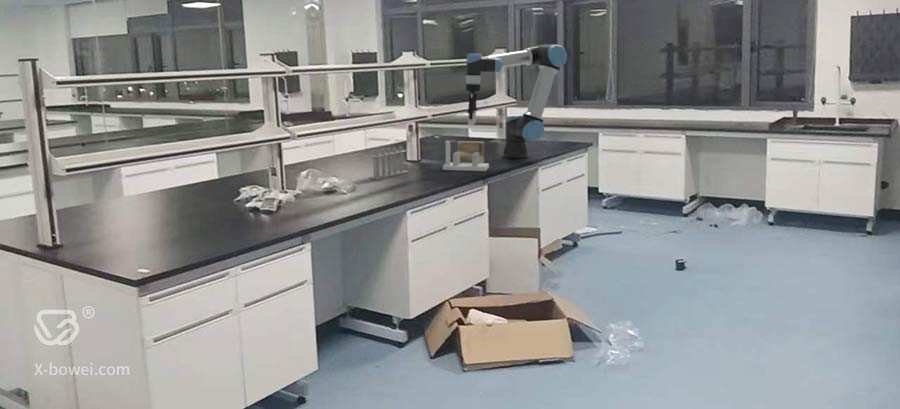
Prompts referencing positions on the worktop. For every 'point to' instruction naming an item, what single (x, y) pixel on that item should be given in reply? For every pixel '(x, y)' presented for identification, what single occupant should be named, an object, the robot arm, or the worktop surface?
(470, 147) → the oak door
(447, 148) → the white holder stand
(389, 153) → the test tube rack
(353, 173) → the worktop surface
